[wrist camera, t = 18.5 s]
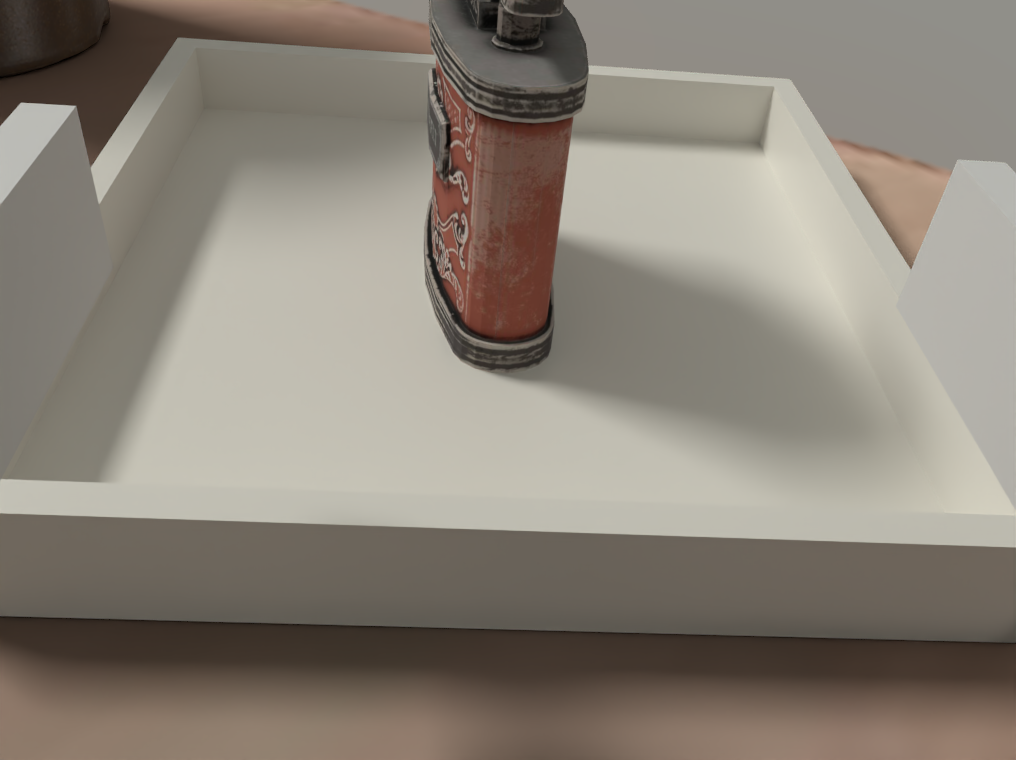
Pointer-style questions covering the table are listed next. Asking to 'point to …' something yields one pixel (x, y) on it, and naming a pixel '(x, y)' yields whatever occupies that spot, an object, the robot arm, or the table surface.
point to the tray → (497, 381)
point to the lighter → (499, 172)
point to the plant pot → (47, 31)
